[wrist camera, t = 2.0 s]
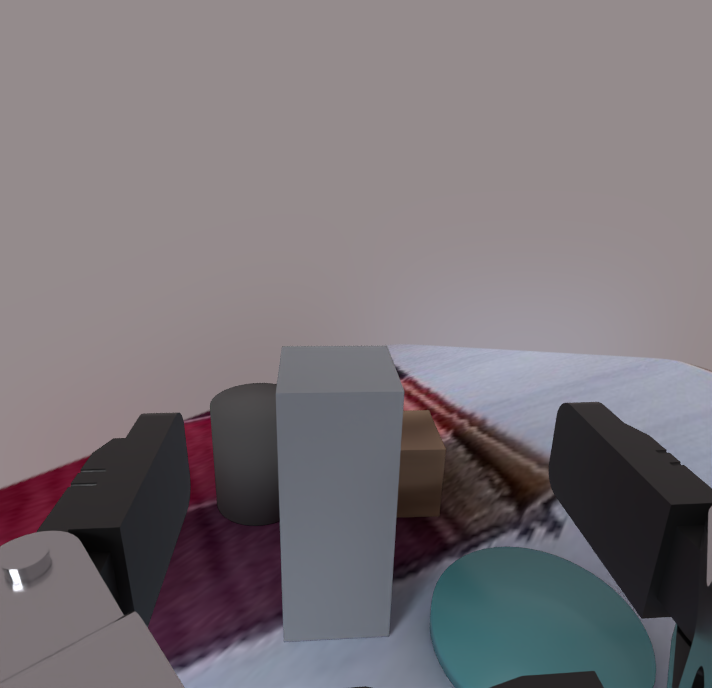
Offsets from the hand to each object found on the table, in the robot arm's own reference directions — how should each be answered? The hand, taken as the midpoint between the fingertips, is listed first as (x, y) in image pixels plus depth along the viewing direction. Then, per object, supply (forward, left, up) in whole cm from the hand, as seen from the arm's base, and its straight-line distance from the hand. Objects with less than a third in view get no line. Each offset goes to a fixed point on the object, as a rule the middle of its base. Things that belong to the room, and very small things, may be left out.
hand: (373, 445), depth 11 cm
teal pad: (+12, -2, -16) cm, 20 cm away
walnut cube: (+18, +9, -16) cm, 26 cm away
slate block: (+9, +7, -16) cm, 20 cm away
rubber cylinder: (+12, +16, -16) cm, 26 cm away
